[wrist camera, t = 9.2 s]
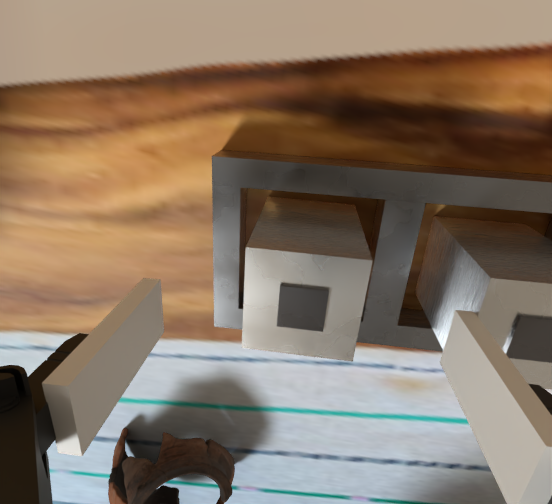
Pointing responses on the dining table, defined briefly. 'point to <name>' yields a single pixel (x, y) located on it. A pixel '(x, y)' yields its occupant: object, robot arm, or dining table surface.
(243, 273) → the two-slot nut tray
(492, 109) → the dining table surface
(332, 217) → the nut block
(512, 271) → the gray upright block
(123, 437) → the pottery mug
